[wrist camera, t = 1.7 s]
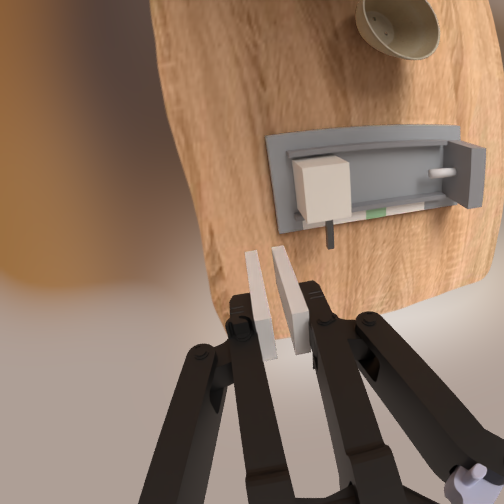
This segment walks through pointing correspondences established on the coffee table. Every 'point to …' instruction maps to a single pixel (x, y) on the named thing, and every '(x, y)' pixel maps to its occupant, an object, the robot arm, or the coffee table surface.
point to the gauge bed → (382, 169)
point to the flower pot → (399, 27)
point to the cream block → (323, 190)
